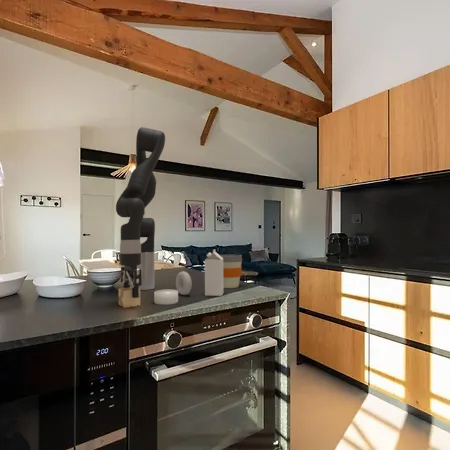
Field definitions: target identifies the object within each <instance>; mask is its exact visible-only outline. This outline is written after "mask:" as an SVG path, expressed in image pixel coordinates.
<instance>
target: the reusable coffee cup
mask: <svg viewBox="0 0 450 450" xmlns="http://www.w3.org/2000/svg"><path fill="white" fill-rule="evenodd" d="M219 255H220V256H221V257H222V258H223V283H224V289H235V288H239V286H240V279H241V276H242V269H243V267H242V262H243V256H242V254H231V253H229V254H219Z"/></svg>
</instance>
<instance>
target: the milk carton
mask: <svg viewBox="0 0 450 450" xmlns="http://www.w3.org/2000/svg"><path fill="white" fill-rule="evenodd" d="M220 255H221V254H219V253H217V252H216V249H213V250H212V252H208V253H207V254H206V257H207V258H205V259H204V296H206V297H207V296H213V297H215V296H216V297H218V296H219V297H221V296H223V294H224V291H225V290H224V289H225V288H224V283H223V258H222V257H221V256H220Z"/></svg>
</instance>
